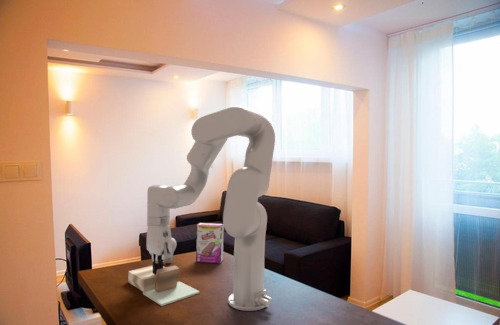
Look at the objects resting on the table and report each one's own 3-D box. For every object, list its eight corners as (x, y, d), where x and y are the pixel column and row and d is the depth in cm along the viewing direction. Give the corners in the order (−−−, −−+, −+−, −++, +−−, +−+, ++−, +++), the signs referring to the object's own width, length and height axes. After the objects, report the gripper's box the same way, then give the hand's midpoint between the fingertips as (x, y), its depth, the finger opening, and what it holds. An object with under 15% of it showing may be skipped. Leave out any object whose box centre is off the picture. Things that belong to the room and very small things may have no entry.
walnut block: (172, 283, 112) (176, 287, 110) (154, 289, 107) (157, 292, 105) (175, 265, 111) (179, 268, 109) (156, 269, 106) (160, 273, 104)
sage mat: (199, 293, 107) (199, 291, 107) (161, 306, 97) (161, 304, 97) (179, 283, 116) (179, 281, 116) (142, 294, 106) (142, 292, 106)
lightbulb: (161, 265, 134) (162, 239, 134) (161, 261, 140) (161, 236, 140) (176, 264, 135) (177, 238, 135) (176, 260, 141) (176, 235, 141)
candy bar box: (195, 262, 138) (196, 224, 138) (198, 259, 143) (199, 222, 143) (221, 264, 137) (221, 225, 137) (223, 260, 142) (223, 223, 142)
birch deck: (175, 282, 116) (175, 271, 116) (144, 292, 107) (144, 280, 107) (158, 274, 124) (158, 263, 124) (128, 282, 116) (128, 271, 115)
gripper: (179, 222, 110) (178, 276, 110) (157, 216, 121) (156, 265, 121) (159, 225, 105) (159, 281, 105) (138, 219, 115) (137, 270, 115)
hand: (157, 273), depth 113 cm, fingers closed
